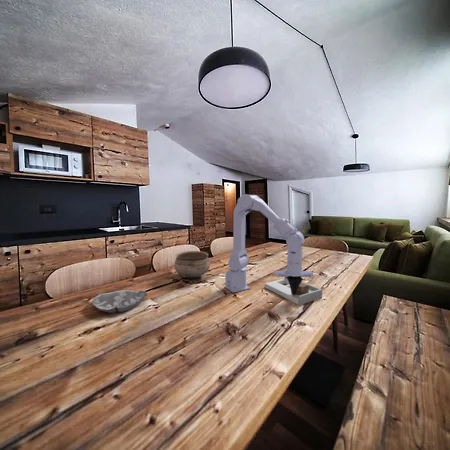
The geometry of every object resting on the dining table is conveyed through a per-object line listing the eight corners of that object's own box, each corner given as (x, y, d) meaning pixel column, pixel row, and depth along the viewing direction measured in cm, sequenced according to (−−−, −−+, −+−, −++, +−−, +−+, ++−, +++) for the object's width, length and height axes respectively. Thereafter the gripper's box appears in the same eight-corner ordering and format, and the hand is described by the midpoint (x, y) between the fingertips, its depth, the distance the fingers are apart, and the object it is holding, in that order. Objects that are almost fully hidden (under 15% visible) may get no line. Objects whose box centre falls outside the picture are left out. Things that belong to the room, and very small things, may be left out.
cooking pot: (220, 279, 114) (220, 256, 113) (187, 288, 102) (187, 262, 101) (196, 268, 134) (195, 248, 132) (166, 274, 122) (166, 252, 121)
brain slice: (84, 320, 75) (83, 312, 75) (98, 299, 91) (98, 292, 91) (144, 313, 80) (144, 305, 80) (148, 294, 96) (147, 287, 96)
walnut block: (301, 296, 89) (302, 287, 89) (292, 292, 93) (293, 283, 92) (308, 294, 92) (309, 285, 91) (299, 290, 95) (300, 281, 95)
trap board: (299, 305, 86) (300, 296, 86) (264, 287, 104) (264, 280, 103) (321, 297, 93) (322, 289, 93) (285, 282, 111) (285, 275, 110)
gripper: (309, 259, 92) (307, 290, 94) (274, 258, 93) (273, 289, 94) (315, 263, 85) (314, 297, 87) (278, 263, 86) (277, 296, 87)
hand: (293, 293), depth 90 cm, fingers closed
